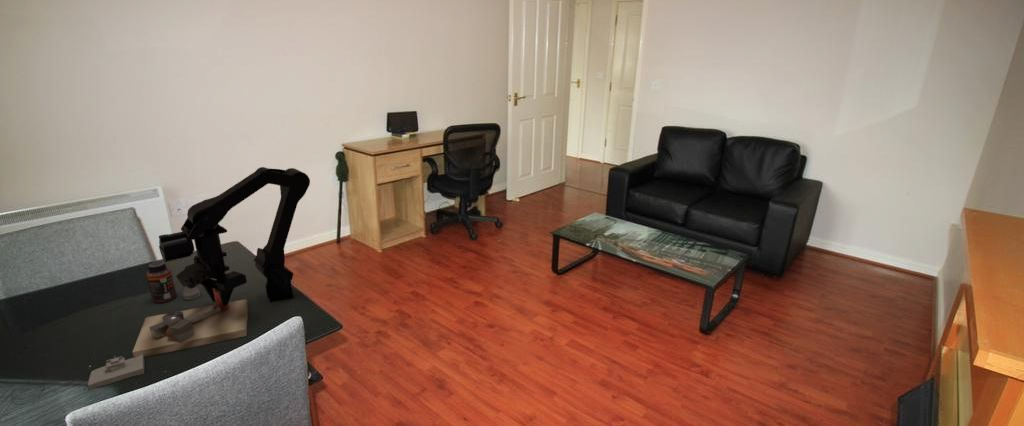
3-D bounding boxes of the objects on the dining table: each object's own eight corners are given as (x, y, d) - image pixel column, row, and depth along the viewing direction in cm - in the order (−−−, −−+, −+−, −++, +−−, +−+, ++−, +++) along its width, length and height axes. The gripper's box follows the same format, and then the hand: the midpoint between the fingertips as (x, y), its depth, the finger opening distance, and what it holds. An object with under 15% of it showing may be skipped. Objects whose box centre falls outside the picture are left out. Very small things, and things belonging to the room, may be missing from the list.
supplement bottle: (175, 301, 144) (167, 266, 140) (151, 305, 141) (141, 269, 137) (178, 292, 149) (170, 258, 145) (154, 296, 146) (145, 261, 142)
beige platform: (141, 351, 122) (138, 338, 120) (157, 370, 115) (153, 356, 114) (80, 374, 113) (75, 360, 112) (92, 396, 106) (88, 382, 105)
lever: (157, 339, 121) (151, 315, 119) (149, 334, 123) (143, 309, 121) (232, 308, 136) (228, 285, 133) (224, 303, 138) (220, 281, 136)
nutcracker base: (247, 305, 142) (244, 286, 140) (246, 336, 128) (242, 316, 126) (147, 323, 132) (142, 304, 130) (134, 359, 118) (127, 338, 116)
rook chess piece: (192, 301, 144) (186, 277, 141) (179, 299, 144) (173, 275, 142) (204, 294, 148) (199, 270, 145) (191, 292, 149) (186, 268, 146)
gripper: (157, 255, 128) (170, 308, 133) (200, 269, 120) (212, 325, 124) (199, 241, 137) (210, 291, 142) (242, 253, 129) (252, 306, 134)
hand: (220, 303), depth 135 cm, fingers open, 4 cm apart
